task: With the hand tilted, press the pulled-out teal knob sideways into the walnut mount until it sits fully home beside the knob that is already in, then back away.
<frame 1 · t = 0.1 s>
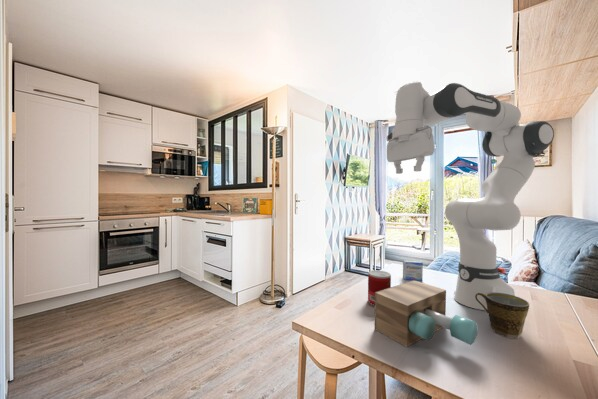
hand: (407, 172, 86), 48 cm above the table, tool pointing down, fingers open, 8 cm apart
medicine box: (412, 279, 120), on the table
ceramic cup: (499, 330, 75), on the table
mount: (411, 327, 76), on the table
knob: (443, 321, 68), point 6 cm above the table, slide at 7.0 cm
canned food: (378, 303, 94), on the table
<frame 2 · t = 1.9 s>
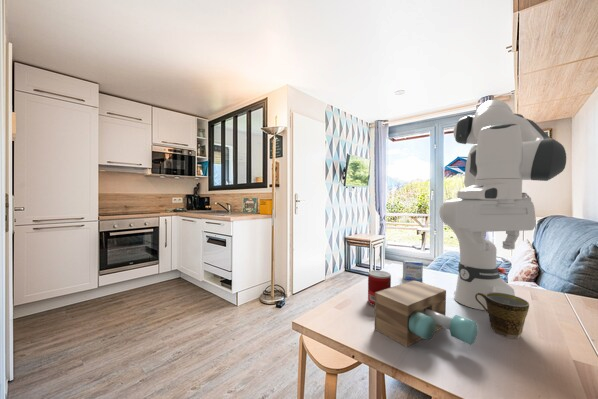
hand: (495, 249, 60), 27 cm above the table, tool pointing down, fingers open, 6 cm apart
nothing on the table moved.
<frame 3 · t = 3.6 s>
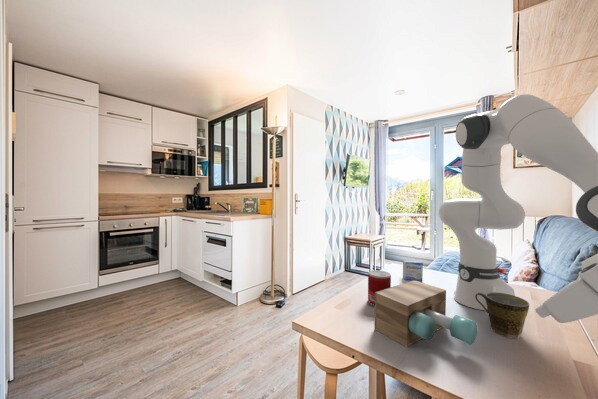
hand: (539, 312, 52), 16 cm above the table, tool tilted 45°, fingers closed
nothing on the table moved.
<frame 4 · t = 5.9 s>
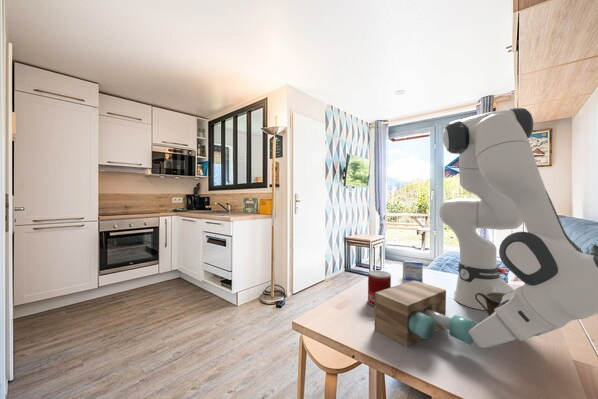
hand: (474, 334, 62), 6 cm above the table, tool tilted 45°, fingers closed, pressing on knob
knob: (443, 320, 68), point 6 cm above the table, slide at 6.8 cm, touching gripper
everything else where it was.
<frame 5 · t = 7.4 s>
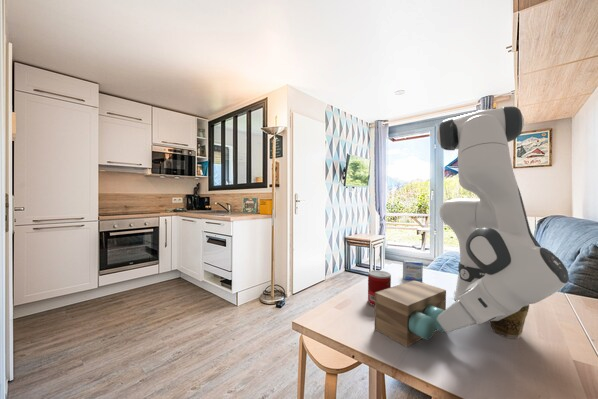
hand: (445, 322, 68), 6 cm above the table, tool tilted 45°, fingers closed, pressing on knob
knob: (419, 311, 74), point 6 cm above the table, slide at -0.1 cm, touching gripper
everything else where it was.
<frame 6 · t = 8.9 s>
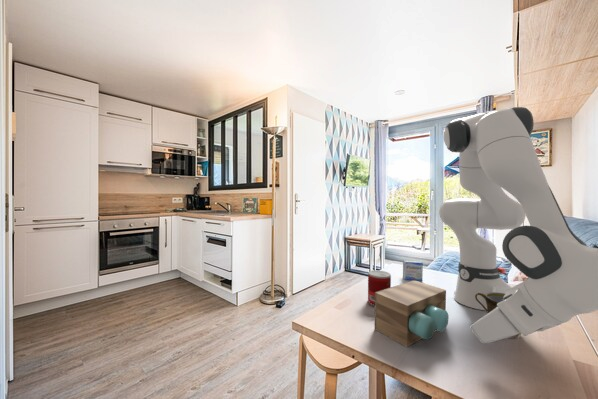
hand: (477, 331, 61), 7 cm above the table, tool tilted 45°, fingers closed
knob: (419, 311, 74), point 6 cm above the table, slide at 0.0 cm
everything else where it was.
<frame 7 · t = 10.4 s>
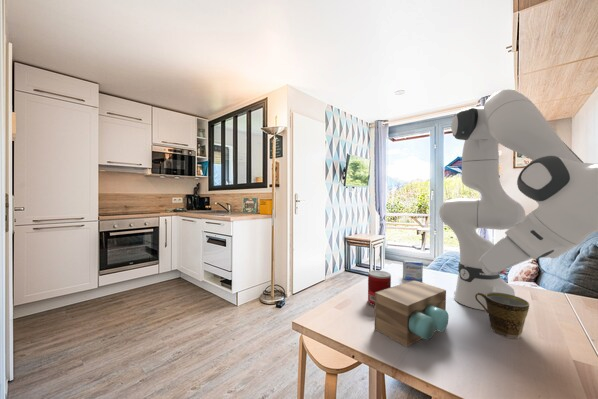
hand: (486, 271, 60), 22 cm above the table, tool tilted 45°, fingers closed
nothing on the table moved.
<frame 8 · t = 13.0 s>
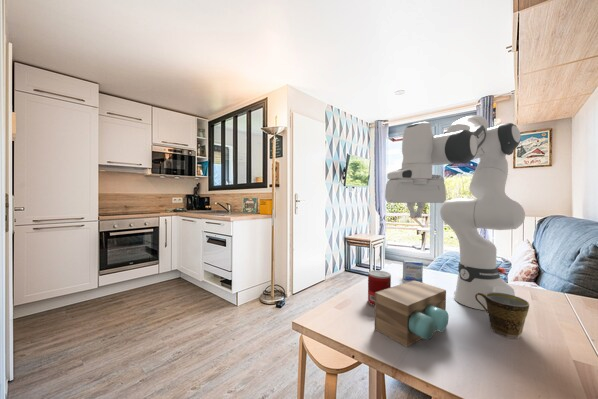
hand: (415, 217, 80), 33 cm above the table, tool pointing down, fingers closed
nothing on the table moved.
at the end: knob slide at 0.0 cm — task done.
